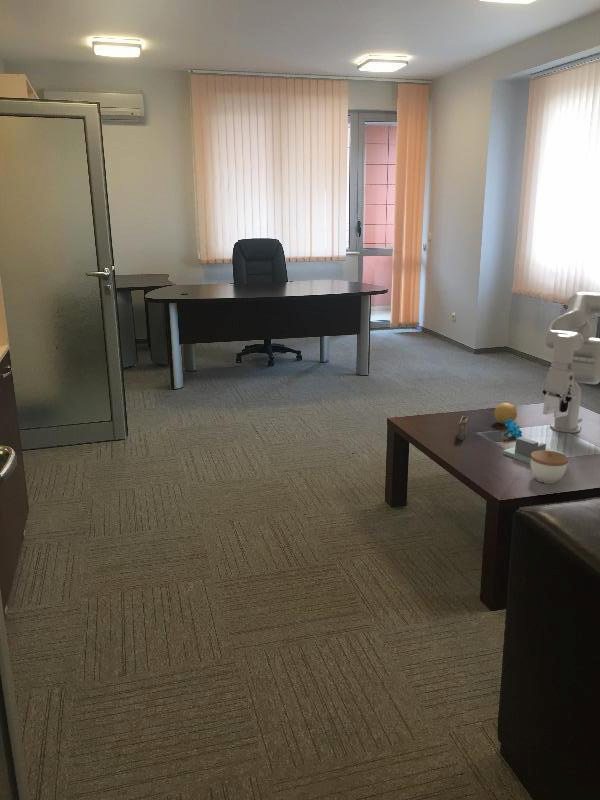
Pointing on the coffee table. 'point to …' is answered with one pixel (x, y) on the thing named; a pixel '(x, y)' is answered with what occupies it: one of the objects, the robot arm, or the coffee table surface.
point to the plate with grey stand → (526, 449)
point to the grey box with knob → (554, 405)
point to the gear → (513, 428)
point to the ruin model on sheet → (463, 427)
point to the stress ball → (505, 412)
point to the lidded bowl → (548, 465)
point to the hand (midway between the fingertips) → (555, 409)
